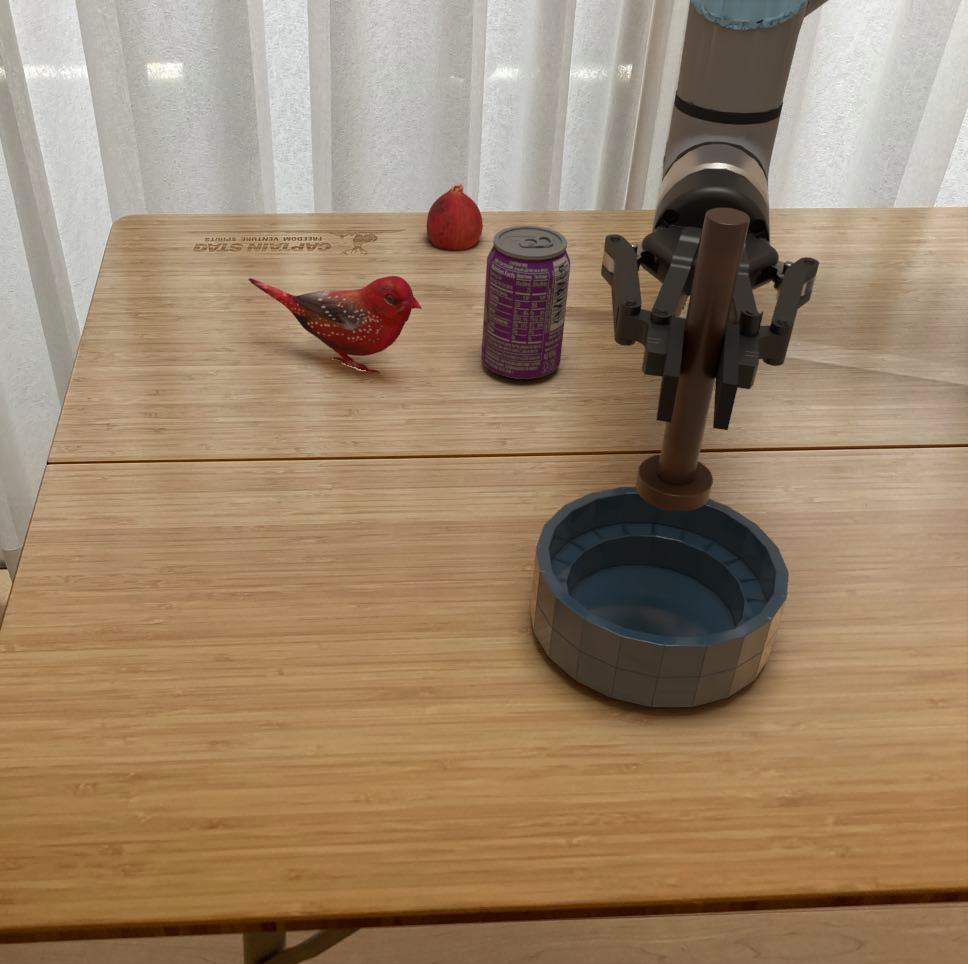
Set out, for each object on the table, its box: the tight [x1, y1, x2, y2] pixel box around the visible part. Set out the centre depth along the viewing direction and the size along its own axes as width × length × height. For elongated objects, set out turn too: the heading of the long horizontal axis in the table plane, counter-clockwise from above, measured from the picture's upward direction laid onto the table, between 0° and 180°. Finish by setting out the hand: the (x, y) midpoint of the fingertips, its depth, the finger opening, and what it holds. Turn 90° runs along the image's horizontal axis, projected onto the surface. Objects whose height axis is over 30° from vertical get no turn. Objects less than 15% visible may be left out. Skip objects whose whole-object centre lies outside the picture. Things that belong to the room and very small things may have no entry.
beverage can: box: [480, 225, 571, 380], centre depth 97 cm, size 7×7×12 cm
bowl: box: [529, 486, 790, 708], centre depth 72 cm, size 16×16×6 cm
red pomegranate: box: [426, 182, 484, 251], centre depth 115 cm, size 6×6×8 cm
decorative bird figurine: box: [248, 275, 423, 375], centre depth 97 cm, size 3×18×10 cm, turn 62°
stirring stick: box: [635, 208, 750, 512], centre depth 61 cm, size 4×4×17 cm
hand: (696, 402), depth 57 cm, fingers closed on stirring stick, 2 cm apart
